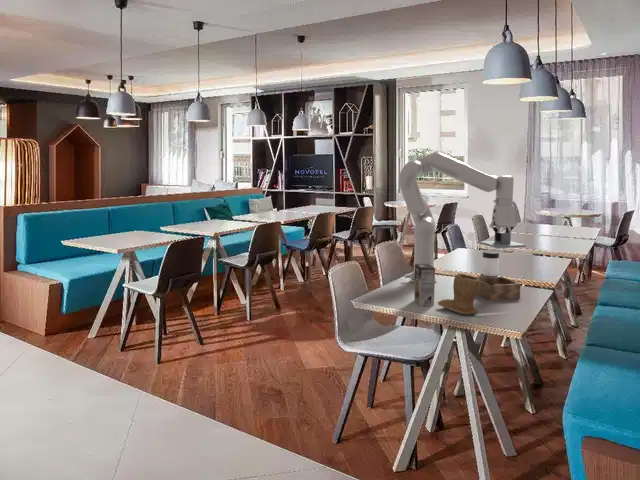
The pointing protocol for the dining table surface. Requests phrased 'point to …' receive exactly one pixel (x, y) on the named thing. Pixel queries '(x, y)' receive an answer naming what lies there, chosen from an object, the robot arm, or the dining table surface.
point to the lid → (503, 242)
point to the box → (498, 288)
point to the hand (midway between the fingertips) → (502, 240)
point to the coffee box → (424, 284)
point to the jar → (490, 263)
